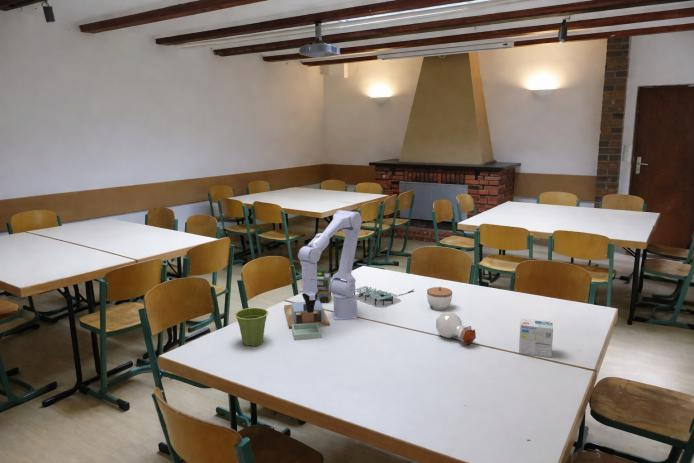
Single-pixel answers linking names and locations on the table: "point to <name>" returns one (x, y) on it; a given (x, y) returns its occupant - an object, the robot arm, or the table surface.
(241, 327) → the plant pot
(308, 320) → the block
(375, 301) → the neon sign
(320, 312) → the cover
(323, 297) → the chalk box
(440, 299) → the lidded jar
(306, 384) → the table surface
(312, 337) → the tray
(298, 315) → the board
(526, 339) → the light bulb box
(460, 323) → the potion bottle
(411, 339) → the table surface
